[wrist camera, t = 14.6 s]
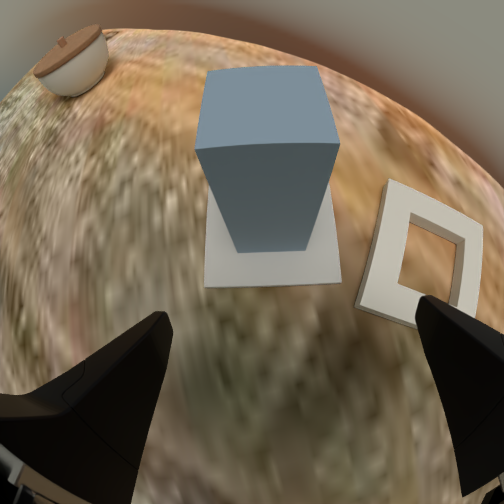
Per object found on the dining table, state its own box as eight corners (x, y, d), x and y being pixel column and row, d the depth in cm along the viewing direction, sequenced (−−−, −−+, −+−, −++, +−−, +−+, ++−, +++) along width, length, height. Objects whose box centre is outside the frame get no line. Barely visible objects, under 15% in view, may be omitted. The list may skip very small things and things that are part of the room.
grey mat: (340, 283, 19) (341, 282, 19) (205, 288, 20) (204, 286, 20) (325, 169, 22) (325, 166, 22) (211, 174, 23) (210, 170, 23)
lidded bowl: (75, 114, 29) (39, 65, 19) (49, 104, 32) (20, 66, 21) (132, 61, 32) (110, 11, 21) (97, 59, 35) (75, 20, 24)
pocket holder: (459, 343, 17) (469, 343, 15) (353, 307, 19) (359, 304, 17) (474, 231, 19) (483, 225, 18) (383, 187, 21) (389, 178, 20)
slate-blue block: (305, 250, 20) (340, 143, 8) (237, 253, 20) (194, 149, 9) (300, 191, 21) (316, 66, 10) (238, 194, 22) (207, 71, 10)
